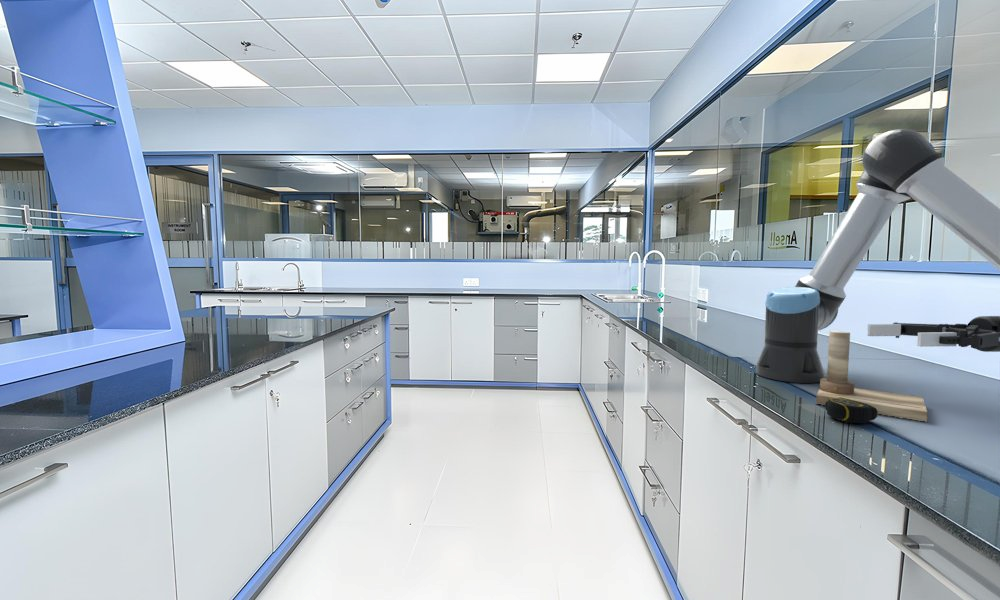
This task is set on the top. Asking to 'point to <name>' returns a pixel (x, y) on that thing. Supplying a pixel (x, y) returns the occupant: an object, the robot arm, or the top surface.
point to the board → (883, 402)
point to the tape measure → (850, 410)
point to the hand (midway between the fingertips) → (891, 334)
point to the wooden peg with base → (838, 365)
